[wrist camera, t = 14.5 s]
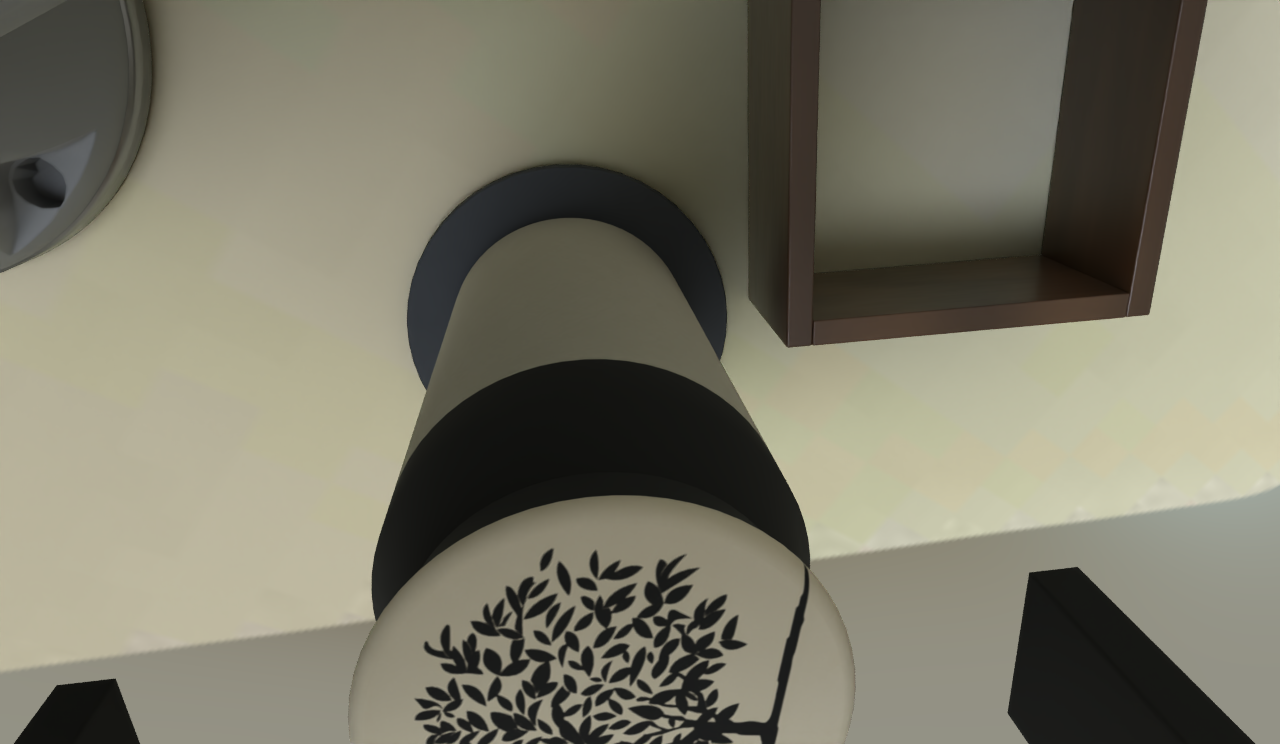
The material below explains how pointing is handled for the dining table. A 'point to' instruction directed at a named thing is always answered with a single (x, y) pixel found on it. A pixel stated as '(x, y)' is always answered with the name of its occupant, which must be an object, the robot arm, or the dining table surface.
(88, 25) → the robot arm
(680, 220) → the slate coaster
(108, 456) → the dining table surface
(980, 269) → the cup holder
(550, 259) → the travel mug
